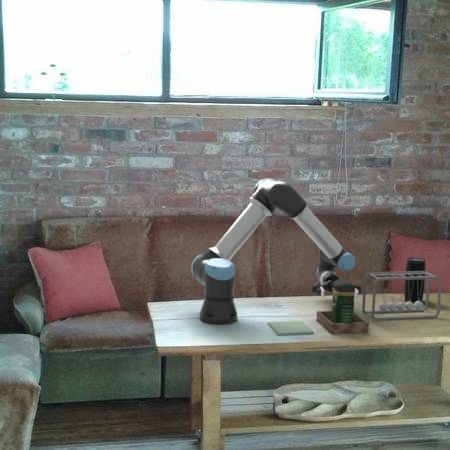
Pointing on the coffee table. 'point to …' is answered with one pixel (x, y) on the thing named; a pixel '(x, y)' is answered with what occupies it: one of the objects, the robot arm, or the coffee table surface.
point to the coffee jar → (343, 301)
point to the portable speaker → (414, 265)
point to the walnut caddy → (342, 324)
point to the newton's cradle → (400, 305)
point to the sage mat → (290, 328)
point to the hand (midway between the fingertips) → (340, 294)
